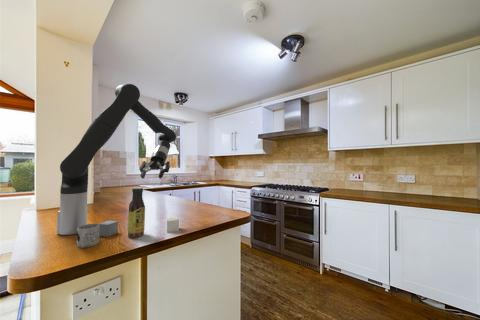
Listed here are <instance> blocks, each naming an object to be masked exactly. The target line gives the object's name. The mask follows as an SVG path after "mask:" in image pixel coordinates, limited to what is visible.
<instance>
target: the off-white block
mask: <svg viewBox="0 0 480 320" xmlns="http://www.w3.org/2000/svg"><path fill="white" fill-rule="evenodd" d="M179 224H180V220H179V217H178V216H176V217H167V218H166V233H170V232H172V233H173V232H179V230H180V225H179Z"/></svg>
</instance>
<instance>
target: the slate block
mask: <svg viewBox="0 0 480 320" xmlns="http://www.w3.org/2000/svg"><path fill="white" fill-rule="evenodd" d="M98 224H99V237H106V238H107V237H111V236H113V235H115V234H118V233H119V221H117V220H106V221H103V222H100V223H98Z"/></svg>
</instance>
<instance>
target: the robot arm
mask: <svg viewBox="0 0 480 320" xmlns="http://www.w3.org/2000/svg"><path fill="white" fill-rule="evenodd" d="M114 95H115V99H114V101H112V103H111V104H110V105H109V106H107V107H106V108H105V109H104V110H103V111H101V112H100V113H99V114H98V115H97V116H96V117H95V119H94V120H93V121H92V122H91V124H90V125H89V126H88V128H87V130H85V133H84V134H83V136H82V138H81V139H80V141H79V142H78V144H76V146H75V148H73V150H72V151H71V152H70V153H69V154H68V155H67V156H66V157H65V158H64V159H63V160H62V161H61V163H60V165H59V171H60V172H61V185H60V190H59V191H60V197H59V210H58V211H57V213H56V215H57V217H56V220H57V221H56V234H57V235H61V236H68V235H75V234H76V235H77V228H78V227H79V226H82V225H86V224H88V189H89V187H88V186H89V165H90V164H91V162H92V160H93V158H94V157H95V155H96V154H97V153H98V151H99V150H100V149H101V148H102V147H104V145H106V144H107V142H108V141H109V140H110V139H111V137H112V136H113V135H114V134H115V132H116V130H117V129H118V128H119V126H120V124H121V123H122V121H123V120H124V118H125V117H126V115H127V113H128V112H129V111H130V110H131V111H132V112H134V113H135V115H136V116H138V117H139V118H140V119H141V120H142V121H143V122H144V123H145V124H146V125H147V126H148V127H149V128H150V129H151V131H152V132H153V133H155V134H159V135H158V137H157V145H156V147H155V149H154V150H153V152H152V154H151V157H150V159H149V161H148V162H146V160H144V161H142V163H141V164H140V166H139V168H138V169H139V171H140V174H139V175H140V177H141V179H145V177H146V174H147V173H148V172H151V171H158V170H159V174H158V179H160V180H161V179H162V178H163V177H164V174H165V173H167V174H168V173H169V171H170V167H171V163H170V161H166V160H167V158H168V156H169V152H170V149H171V143H172V142H175V141H176V140H177V134H176V133H175V131H174V130H172V129H171V128H170V127H168V126H167V125H165V124H164V123H163V122H162V121H161V120H160V118H158V117H157V115H155V114H154V113H153V112H152V111H150V110H149V109H148V108H146V107H145V106H144V105H143V104H142V103H141V102H140V101H139V100H140V97H141V92H140V89H139V88H138V87H137V86H136V85H135V84H133V83H123V84H120V85H117V86H116V88H115V90H114ZM163 167H165V168H163Z"/></svg>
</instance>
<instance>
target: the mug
mask: <svg viewBox="0 0 480 320" xmlns="http://www.w3.org/2000/svg"><path fill="white" fill-rule="evenodd" d="M99 243H100V236H99V223H87V224H86V225H82V226H79V227H78V228H77V233H76V248H78V249H81V248H90V247H94V246H97V245H98V244H99Z"/></svg>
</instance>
